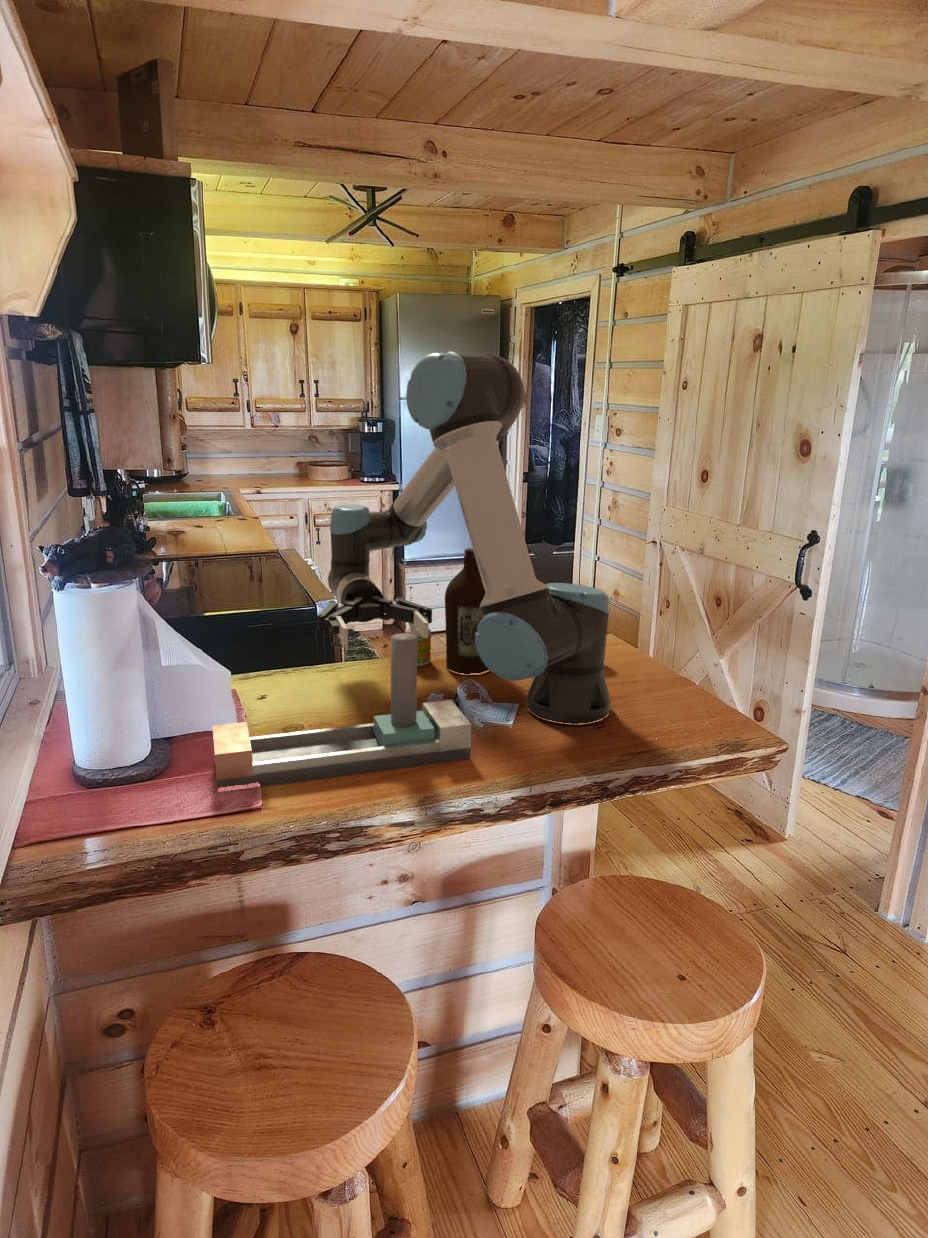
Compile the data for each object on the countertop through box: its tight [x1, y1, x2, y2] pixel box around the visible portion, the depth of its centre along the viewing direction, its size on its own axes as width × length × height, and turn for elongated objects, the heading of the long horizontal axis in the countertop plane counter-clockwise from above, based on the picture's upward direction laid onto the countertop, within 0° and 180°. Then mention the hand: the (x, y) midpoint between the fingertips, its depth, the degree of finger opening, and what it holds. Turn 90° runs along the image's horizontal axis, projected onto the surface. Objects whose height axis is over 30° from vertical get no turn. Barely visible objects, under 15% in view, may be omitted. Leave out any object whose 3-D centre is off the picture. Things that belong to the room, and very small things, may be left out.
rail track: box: [211, 699, 472, 788], centre depth 122 cm, size 38×10×6 cm, turn 109°
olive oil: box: [444, 547, 489, 674], centre depth 159 cm, size 11×11×25 cm
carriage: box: [373, 633, 435, 746], centre depth 122 cm, size 8×7×17 cm
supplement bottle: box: [404, 623, 432, 667], centre depth 164 cm, size 5×5×10 cm
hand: (386, 633), depth 130 cm, fingers open, 13 cm apart
